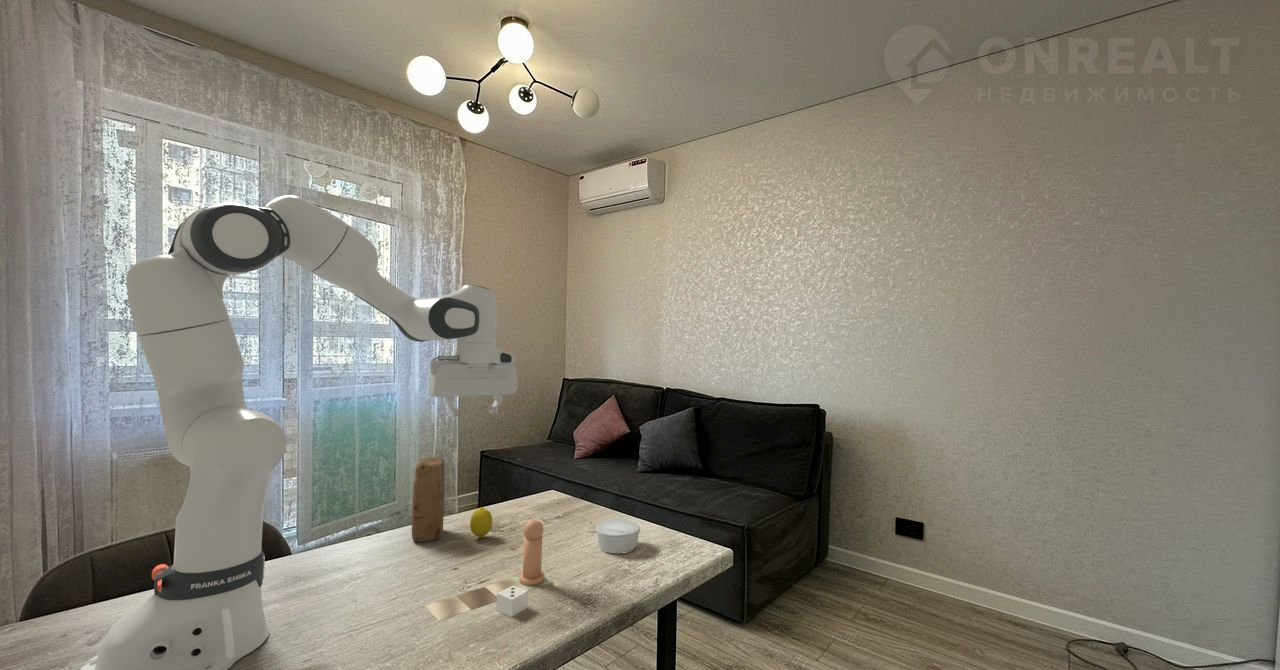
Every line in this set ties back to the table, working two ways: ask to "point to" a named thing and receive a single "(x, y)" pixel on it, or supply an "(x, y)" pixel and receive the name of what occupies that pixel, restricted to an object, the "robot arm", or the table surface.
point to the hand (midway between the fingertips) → (474, 415)
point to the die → (512, 600)
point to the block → (428, 500)
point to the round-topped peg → (532, 554)
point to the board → (475, 598)
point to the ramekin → (617, 535)
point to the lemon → (481, 522)
